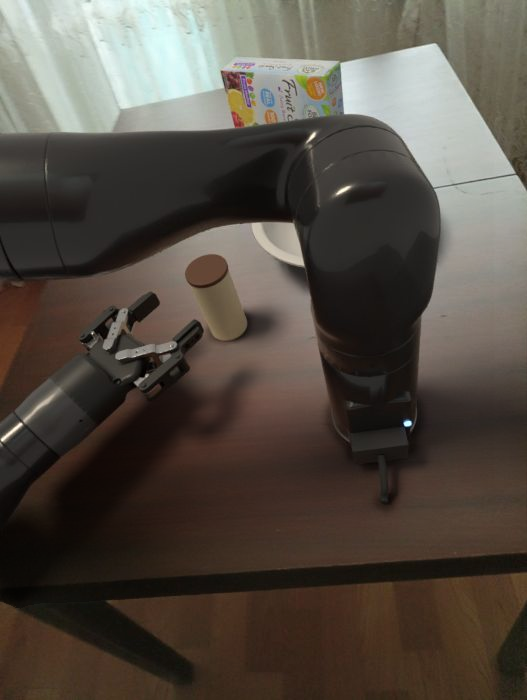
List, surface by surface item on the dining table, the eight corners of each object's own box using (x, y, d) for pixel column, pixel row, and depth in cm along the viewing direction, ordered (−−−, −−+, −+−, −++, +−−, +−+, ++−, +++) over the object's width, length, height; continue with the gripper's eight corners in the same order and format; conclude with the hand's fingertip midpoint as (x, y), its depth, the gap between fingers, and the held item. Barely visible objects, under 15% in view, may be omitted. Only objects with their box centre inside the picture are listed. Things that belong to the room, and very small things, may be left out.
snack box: (349, 146, 90) (341, 58, 78) (334, 164, 88) (325, 76, 76) (253, 133, 100) (234, 54, 88) (238, 149, 98) (216, 69, 86)
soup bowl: (420, 302, 65) (422, 265, 60) (245, 301, 72) (234, 267, 67) (422, 189, 79) (424, 151, 73) (276, 197, 85) (268, 163, 80)
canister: (248, 338, 67) (227, 280, 59) (210, 344, 68) (183, 288, 60) (247, 308, 71) (227, 250, 62) (211, 315, 71) (186, 258, 63)
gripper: (89, 420, 48) (206, 313, 54) (22, 355, 56) (130, 267, 61) (122, 454, 54) (225, 354, 60) (57, 391, 62) (153, 307, 67)
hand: (177, 310), depth 60 cm, fingers open, 8 cm apart
